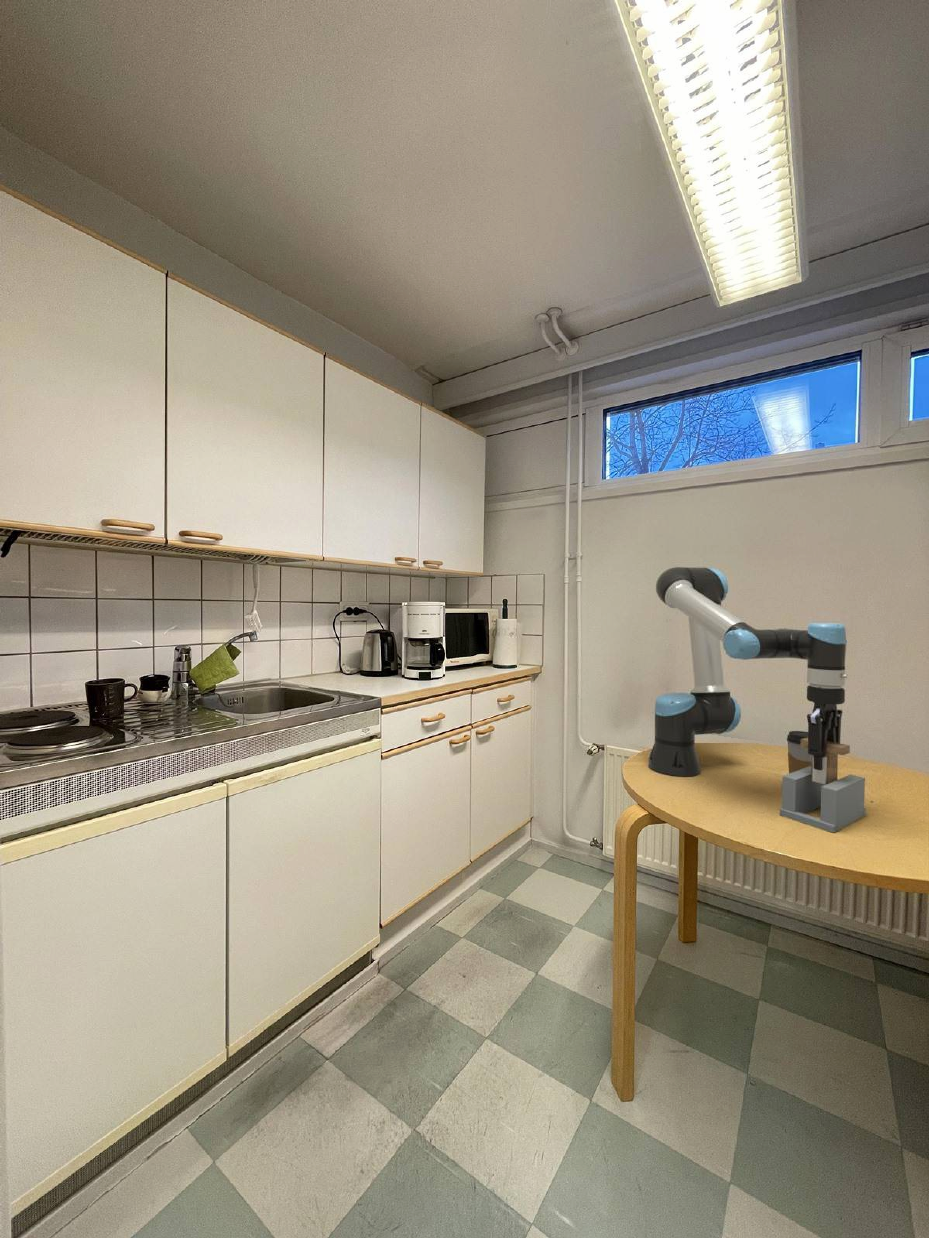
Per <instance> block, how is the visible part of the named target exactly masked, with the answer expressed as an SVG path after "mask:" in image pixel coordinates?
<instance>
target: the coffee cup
mask: <svg viewBox="0 0 929 1238" xmlns="http://www.w3.org/2000/svg"><path fill="white" fill-rule="evenodd" d="M786 737H787V738H786V741H787V758H788V759H787V761H788V762H787V763H788V774H790V773H792V772H795V771H798V770H801V769H803V768H806V767H809V766H811V761H812V755H810V754H808V748H806V747H801V739H804V738H807V737H808V731H804V730H803V731H802V730H791V731H788V734H787V736H786Z"/></svg>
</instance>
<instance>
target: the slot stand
mask: <svg viewBox="0 0 929 1238" xmlns="http://www.w3.org/2000/svg"><path fill="white" fill-rule="evenodd" d="M781 780H782V781H781V808H780V809H779V816H781V817H784V818H786V819H791V820H792V821H797V822H799V823H802V824H805V825H809V826H811V827H814V828H817V829H820V830H824V831H826V832H829V833H832V834H834V833H836V832H838V831H840V830H842V829H844V828H845V827H847V826H849V825H851V824H853V823H854V822H856V821H858V820H860V819H861V818H863V817H865V816H867V815H866V814H867V813H866V812H867V810H866V808H865V791H866V777H863V776H858V775H855V774H848V775H846V776H844V777H843V776H842V777H841V778H837V780H836V781H834V782H831V783H829V784H827V785H824V784H821V783H817V782H813V781H811V766H809V767H806V768H803V769H801V770H798V771H795V772H792V773H790V774H789V773H787V774H784V775H782V777H781ZM818 808H820V818H818V817H815V816H812V815H808V814H807V813H810V812H812V811H813V810H817V809H818Z"/></svg>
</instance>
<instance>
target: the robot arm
mask: <svg viewBox="0 0 929 1238" xmlns="http://www.w3.org/2000/svg"><path fill="white" fill-rule="evenodd" d="M655 591H656V594H657V597H658V598H659V599H660V600H661V602H662V603H664V604H665V605H667V606H668V607H669V608H672V609H677V610H678V611H680V612H681V613H683V614H684V615H686V616H687V617H688V627H689V638H690V639H689V640H690V648H691V660H692V670H693V680H694V681H693V683H694V686H693V687H692V689H691V690H690V693H688V692H671V693H669V692H668V693H665V694H661V695H659V696H658V697H657V698H656V700H655V705H654V743H653V746H652V749H651V751H650V755H649V756H648V764H647V765H648V767H649V769H650V770H652V771H655V772H657V773H660V774H663V775H668V776H673V777H674V776H676V777H692V776H694V777H695V776H697V775H699V774H700V773H701V763H700V761H699V760H700V759H699V757H698V753H697V749H696V747H695V745H696V744H695V741H696V737H695V736H697V735H711V734H714V735H715V734H716V735H720V734H724V733H730V732H732V731H734V730H735V729H736V727H738V725H739V723H740V721H741V718H742V710H741V705H740V704H739V703H738V702H737V699H736V698H734V697H732V696H731V691H730V689H728V688H727V687H726V686H725V682H724V673H723V671H724V670H723V662H722V661H723V660H722V650H721V642H722V647H723V650H724V651H725V653H726V655H728V657H730V658H731V659H736V660H737V659H738V660H744V661H745V660H746V661H747V660H754V659H755V660H756V659H757V660H759V659H796V660H798V659H800V660H804V661H805V660H807V667H806V668H807V670H806V683H807V686H806V700H807V701H809V702H812V703H813V708H812V714H811V713H807V715H806V718H807V724H808V726H807V727H808V728H807V732H808V754H810V755H813V774H812V781H814V782H818V783H821V784H826V779H827V757H825V751H826V742H827V741H830V742H835V743H840V744H841V729H842V728H841V727H842V716H843V710H842V709H838V706H837V705H842V704H845V702H846V689H845V688H844V686H845V685H846V679H847V678H848V674H846V652H847V635H846V634H847V631H846V626H845V625H844V624H842V623H836V622H832V623H828V622H811V623H809V624H808V625H807V626H808V627H807V630H806V629H805V630H804V629H802V630H801V629H793V628H792V629H790V628H771V629H756V628H754V626H753V627H752V626H751V625H749V624H748V623H746V622H745V621H743V620H742V619H740V618H738V617H737V616H735V615H734V614H733V613H731V612H729V611H728V610H726V609H725V608H723V607H722V602H723V601H724V600H725V599H726V597H727V594H729V593H728V592H729V584H728V580H727V578H726V576H725V575H724V573H723V572H722V571H720V570H719V569H717V568H712V567H711V568H709V567H705V566H703V567H688V566H687V567H685V566H684V567H682V566H675V567H671V568H668V569H666V570H665V571H663V572H662V573H661V574H660V575H659V576H658V578H657V581H656V584H655Z"/></svg>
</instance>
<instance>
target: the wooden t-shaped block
mask: <svg viewBox="0 0 929 1238" xmlns="http://www.w3.org/2000/svg"><path fill="white" fill-rule="evenodd" d="M801 747H806V748H808V737H807V738H804V739H801ZM850 750H851V745H850V744H845V743H841V742H840V743H835V742H830V741H827V742H826V751H825V757H827V779H826V784H824V785H827V784H829V783H831V782H834V781H836V780H838V766H839V765H838V755H840V756H845V755H848V754H850V753H851V751H850ZM812 774H813V755H812V761H811V781H812ZM813 782H814V781H813ZM817 783H818V782H817Z"/></svg>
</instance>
